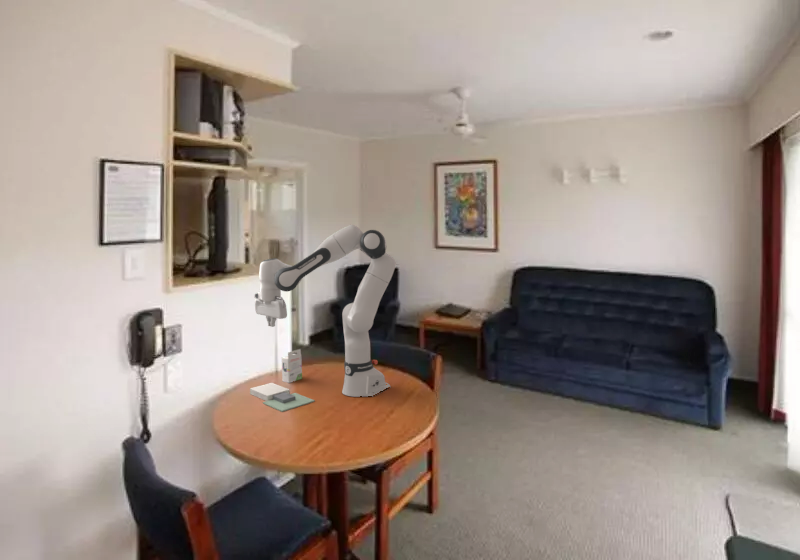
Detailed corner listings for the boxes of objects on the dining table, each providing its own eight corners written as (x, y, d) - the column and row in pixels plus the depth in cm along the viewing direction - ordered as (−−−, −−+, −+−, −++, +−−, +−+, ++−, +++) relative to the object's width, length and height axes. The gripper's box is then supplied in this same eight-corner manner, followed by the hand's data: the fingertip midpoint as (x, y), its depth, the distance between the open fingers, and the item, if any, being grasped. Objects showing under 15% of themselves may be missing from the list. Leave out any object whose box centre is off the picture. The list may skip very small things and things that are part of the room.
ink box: (295, 376, 241) (294, 347, 239) (302, 378, 238) (301, 348, 237) (281, 381, 234) (280, 351, 232) (288, 383, 231) (287, 352, 230)
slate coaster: (284, 395, 213) (284, 392, 213) (295, 399, 208) (295, 396, 208) (272, 398, 209) (272, 395, 209) (283, 403, 203) (283, 400, 203)
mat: (295, 393, 217) (295, 392, 217) (314, 401, 207) (314, 400, 207) (262, 403, 205) (262, 402, 205) (281, 411, 195) (281, 410, 195)
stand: (271, 387, 225) (271, 382, 224) (289, 395, 215) (289, 389, 215) (250, 393, 217) (249, 388, 216) (267, 401, 207) (267, 395, 207)
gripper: (290, 296, 212) (291, 328, 214) (264, 292, 226) (265, 322, 228) (277, 298, 208) (278, 330, 209) (252, 294, 222) (253, 324, 223)
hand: (271, 326), depth 219 cm, fingers closed
